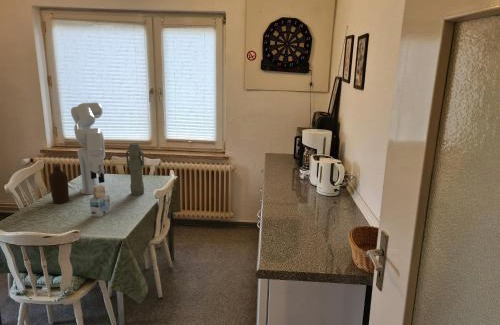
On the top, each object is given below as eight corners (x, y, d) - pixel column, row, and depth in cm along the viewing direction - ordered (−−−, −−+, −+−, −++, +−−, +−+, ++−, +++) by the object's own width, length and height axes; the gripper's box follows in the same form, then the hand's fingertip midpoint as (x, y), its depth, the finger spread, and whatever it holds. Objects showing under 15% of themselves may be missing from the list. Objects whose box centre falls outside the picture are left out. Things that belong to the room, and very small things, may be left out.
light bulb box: (100, 217, 216) (99, 199, 214) (90, 216, 218) (88, 198, 215) (111, 210, 226) (109, 193, 224) (101, 209, 228) (99, 192, 225)
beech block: (93, 196, 219) (92, 186, 218) (101, 194, 223) (100, 184, 221) (97, 198, 216) (96, 188, 214) (105, 196, 219) (104, 186, 218)
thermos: (144, 195, 253) (141, 145, 244) (127, 195, 252) (123, 145, 243) (147, 191, 261) (144, 142, 252) (131, 191, 261) (127, 142, 252)
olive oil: (73, 198, 245) (68, 162, 239) (65, 204, 235) (61, 166, 229) (56, 198, 245) (52, 162, 239) (48, 204, 235) (43, 166, 228)
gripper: (82, 150, 216) (84, 178, 220) (95, 156, 204) (98, 185, 209) (94, 148, 221) (97, 175, 226) (108, 154, 210) (111, 182, 214)
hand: (97, 180), depth 217 cm, fingers open, 9 cm apart
